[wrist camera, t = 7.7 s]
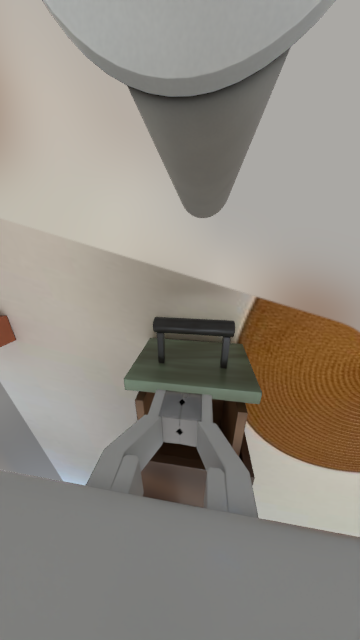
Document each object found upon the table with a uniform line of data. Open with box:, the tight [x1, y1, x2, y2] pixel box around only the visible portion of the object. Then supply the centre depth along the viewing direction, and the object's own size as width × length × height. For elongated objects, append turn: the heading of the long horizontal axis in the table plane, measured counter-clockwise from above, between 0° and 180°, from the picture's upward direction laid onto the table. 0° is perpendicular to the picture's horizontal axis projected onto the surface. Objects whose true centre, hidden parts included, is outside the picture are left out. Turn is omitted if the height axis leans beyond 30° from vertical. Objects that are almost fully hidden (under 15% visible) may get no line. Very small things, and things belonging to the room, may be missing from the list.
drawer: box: [124, 317, 262, 460], centre depth 19 cm, size 18×11×8 cm, turn 0°
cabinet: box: [141, 432, 254, 508], centre depth 24 cm, size 15×13×10 cm
